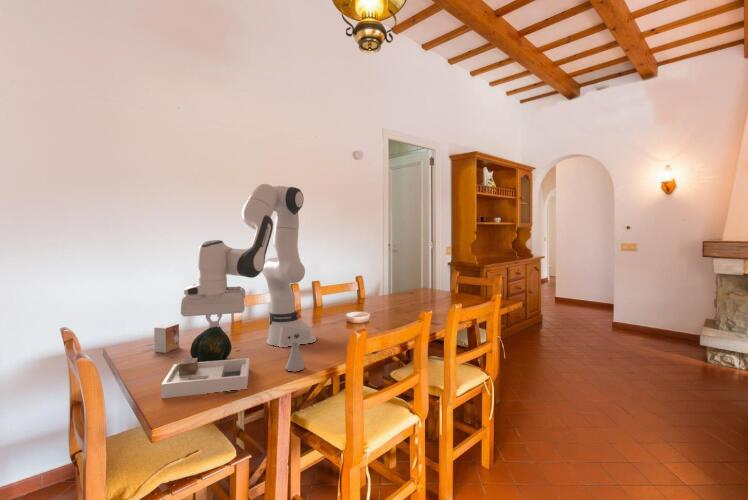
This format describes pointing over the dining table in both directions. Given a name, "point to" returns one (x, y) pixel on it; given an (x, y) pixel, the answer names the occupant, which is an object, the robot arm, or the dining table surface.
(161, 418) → the dining table surface
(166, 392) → the track
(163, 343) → the small box
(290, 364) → the flask
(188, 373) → the walnut block
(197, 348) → the squash
